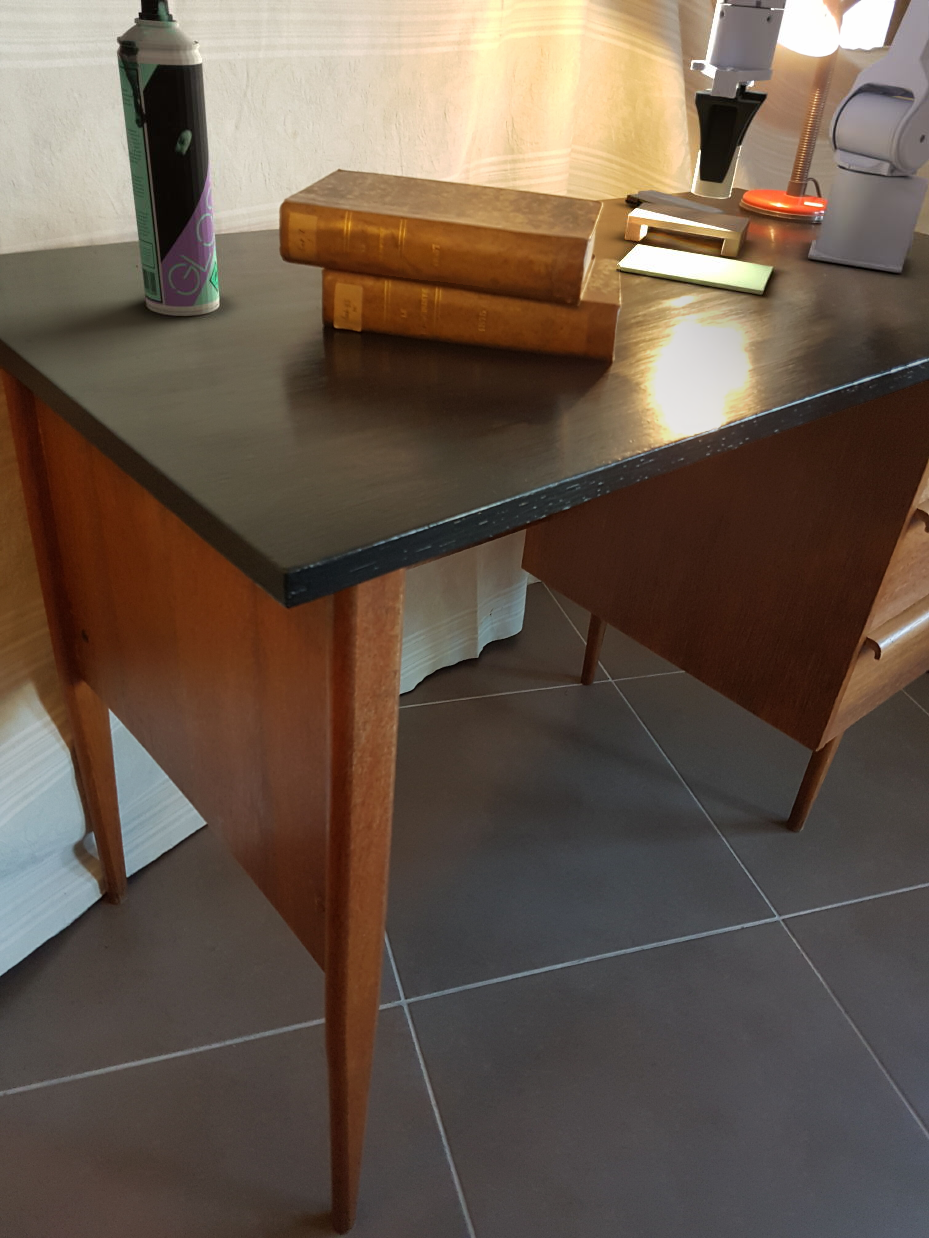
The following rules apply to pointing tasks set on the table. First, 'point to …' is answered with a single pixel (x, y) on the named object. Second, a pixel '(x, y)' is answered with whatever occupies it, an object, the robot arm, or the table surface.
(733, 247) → the small bench
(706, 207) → the harmonica
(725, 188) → the spice bottle
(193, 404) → the table surface
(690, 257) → the mat
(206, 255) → the spray can
